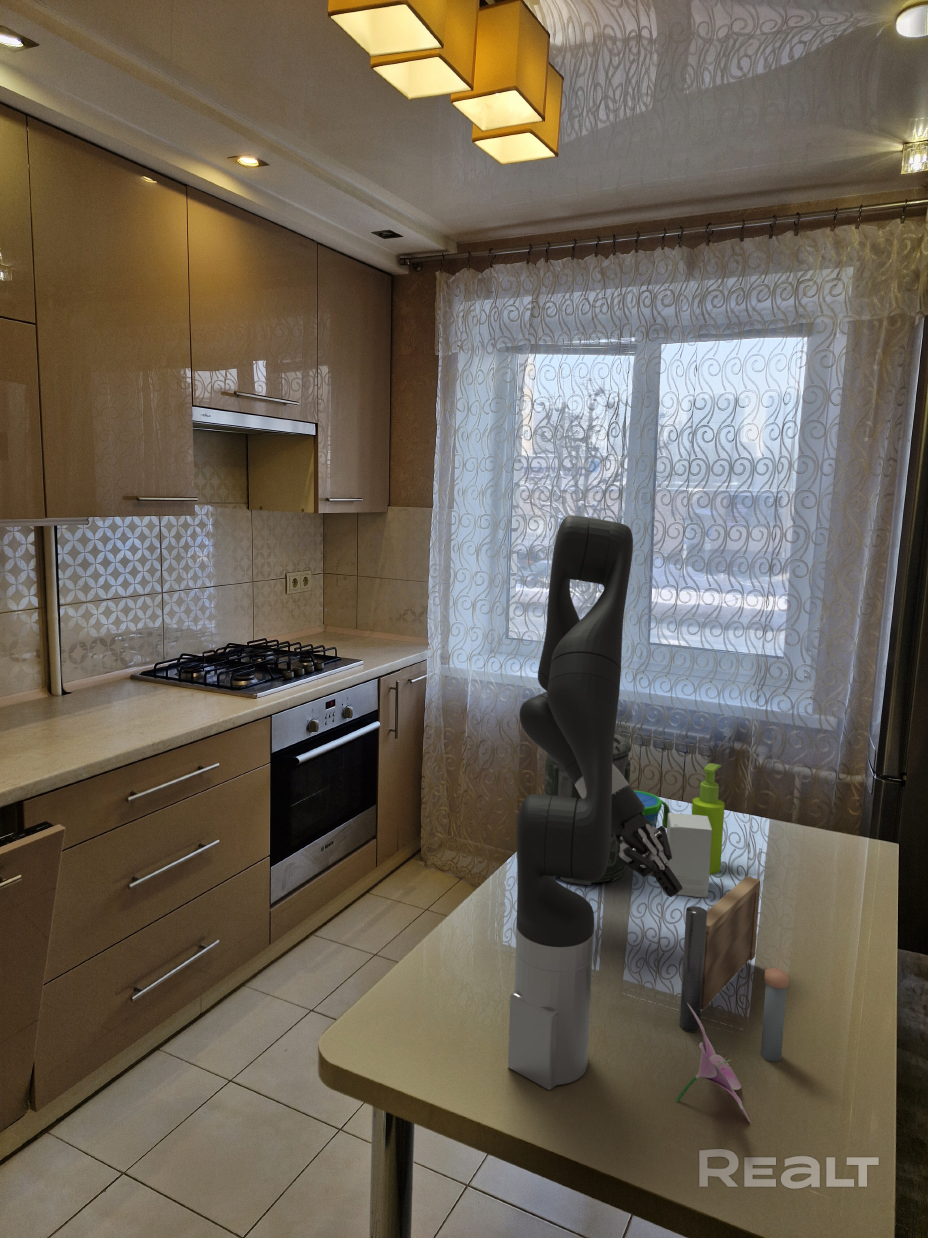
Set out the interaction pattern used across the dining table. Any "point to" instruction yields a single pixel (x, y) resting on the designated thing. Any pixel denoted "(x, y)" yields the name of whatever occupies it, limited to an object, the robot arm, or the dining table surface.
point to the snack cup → (653, 807)
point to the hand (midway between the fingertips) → (676, 893)
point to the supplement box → (690, 852)
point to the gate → (730, 937)
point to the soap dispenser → (711, 813)
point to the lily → (715, 1069)
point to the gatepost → (693, 967)
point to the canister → (563, 786)
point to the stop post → (774, 1013)
